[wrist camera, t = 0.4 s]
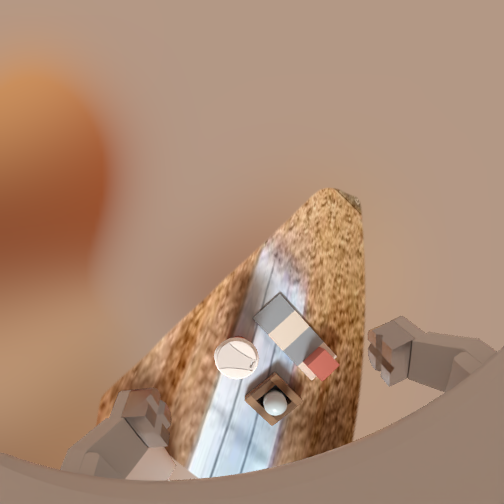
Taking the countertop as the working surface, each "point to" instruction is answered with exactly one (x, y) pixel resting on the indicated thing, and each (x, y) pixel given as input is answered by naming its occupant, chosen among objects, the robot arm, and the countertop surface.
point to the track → (290, 332)
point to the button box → (265, 387)
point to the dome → (274, 402)
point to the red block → (321, 363)
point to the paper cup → (236, 358)
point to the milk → (153, 465)
